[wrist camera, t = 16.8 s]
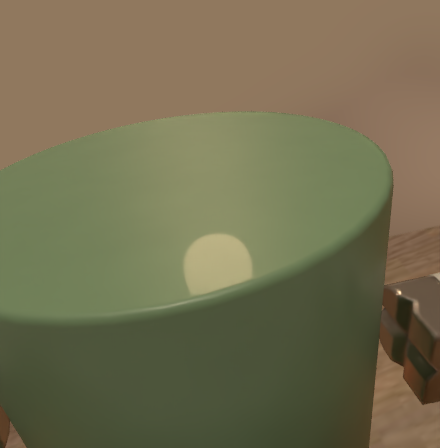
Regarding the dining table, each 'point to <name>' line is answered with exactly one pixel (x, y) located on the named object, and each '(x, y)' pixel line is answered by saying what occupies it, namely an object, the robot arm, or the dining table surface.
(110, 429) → the green stacking piece
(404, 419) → the dining table surface
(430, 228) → the dining table surface
